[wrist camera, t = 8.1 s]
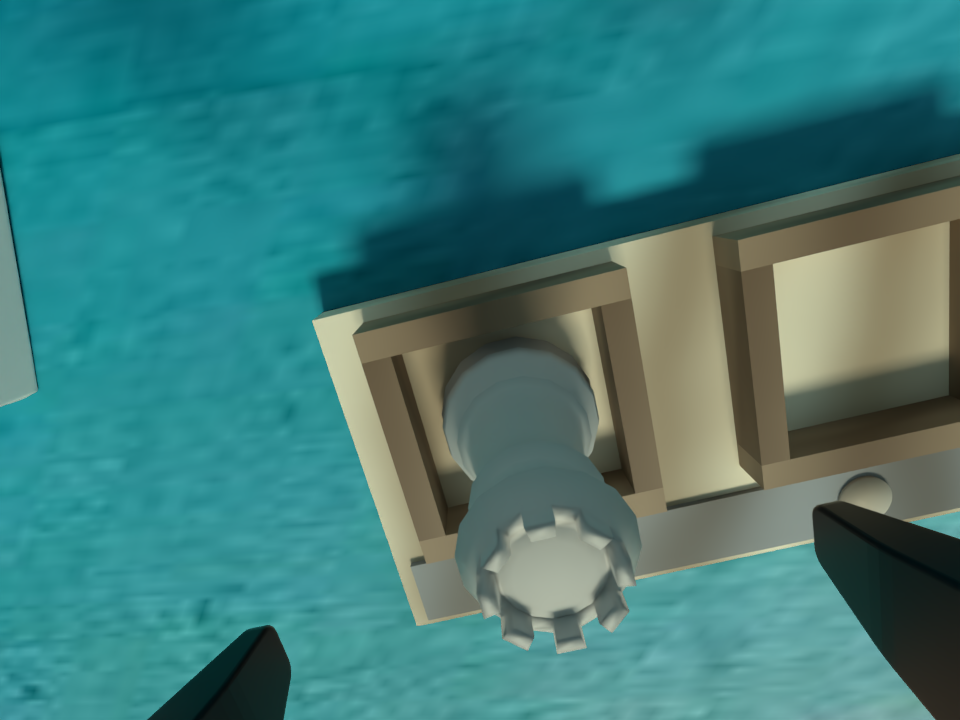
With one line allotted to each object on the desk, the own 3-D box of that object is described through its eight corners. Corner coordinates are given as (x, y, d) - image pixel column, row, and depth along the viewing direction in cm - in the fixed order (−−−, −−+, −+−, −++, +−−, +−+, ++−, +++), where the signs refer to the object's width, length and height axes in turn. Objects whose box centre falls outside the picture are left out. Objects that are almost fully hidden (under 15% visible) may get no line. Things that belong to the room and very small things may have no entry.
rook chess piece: (411, 410, 16) (356, 599, 9) (513, 300, 15) (553, 402, 8) (520, 497, 17) (558, 740, 9) (622, 399, 16) (756, 579, 8)
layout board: (993, 145, 15) (1098, 134, 13) (983, 480, 18) (1067, 525, 16) (323, 312, 17) (295, 333, 14) (420, 601, 20) (412, 662, 17)
